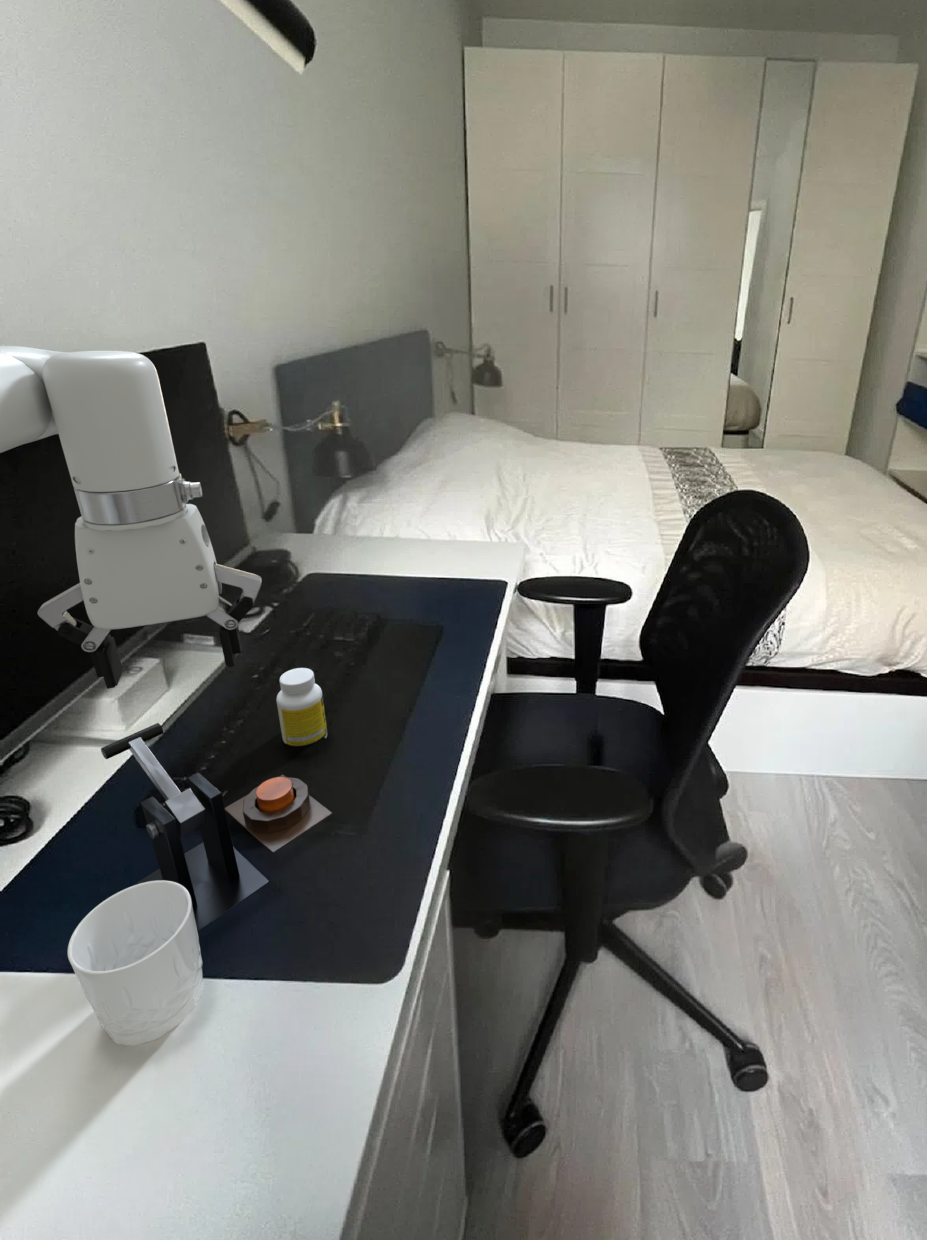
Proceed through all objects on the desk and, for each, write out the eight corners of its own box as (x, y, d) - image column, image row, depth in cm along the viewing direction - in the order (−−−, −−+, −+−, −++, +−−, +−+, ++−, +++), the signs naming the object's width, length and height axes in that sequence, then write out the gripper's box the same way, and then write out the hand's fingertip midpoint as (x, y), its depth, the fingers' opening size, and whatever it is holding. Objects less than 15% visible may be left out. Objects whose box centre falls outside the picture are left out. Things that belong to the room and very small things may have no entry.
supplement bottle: (335, 740, 85) (327, 676, 82) (294, 759, 82) (283, 694, 78) (316, 721, 89) (307, 660, 85) (276, 739, 85) (265, 675, 81)
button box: (225, 816, 73) (220, 795, 72) (284, 782, 78) (280, 762, 77) (274, 861, 67) (270, 839, 66) (334, 821, 73) (331, 800, 72)
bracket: (137, 892, 63) (108, 797, 59) (220, 840, 70) (200, 752, 65) (186, 951, 58) (158, 852, 54) (271, 890, 64) (253, 796, 60)
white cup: (81, 1024, 52) (47, 937, 48) (181, 947, 58) (158, 864, 55) (131, 1085, 48) (99, 995, 45) (233, 995, 55) (212, 910, 51)
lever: (101, 757, 63) (99, 742, 61) (158, 731, 67) (157, 716, 65) (164, 847, 58) (163, 833, 57) (220, 814, 62) (221, 800, 61)
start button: (251, 802, 71) (249, 790, 71) (282, 784, 74) (280, 772, 73) (269, 818, 69) (267, 805, 69) (300, 798, 72) (298, 786, 71)
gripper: (246, 480, 63) (274, 635, 69) (22, 498, 56) (75, 668, 62) (243, 503, 56) (274, 671, 63) (-10, 526, 49) (53, 712, 56)
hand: (175, 669), depth 62 cm, fingers open, 9 cm apart
